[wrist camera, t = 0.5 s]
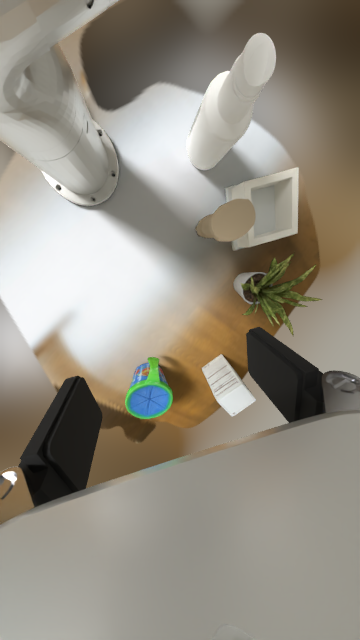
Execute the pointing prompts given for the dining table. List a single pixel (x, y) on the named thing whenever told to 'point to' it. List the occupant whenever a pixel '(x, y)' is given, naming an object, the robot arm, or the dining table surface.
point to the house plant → (270, 290)
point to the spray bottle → (230, 103)
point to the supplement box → (227, 386)
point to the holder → (268, 207)
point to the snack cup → (148, 391)
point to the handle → (228, 221)
